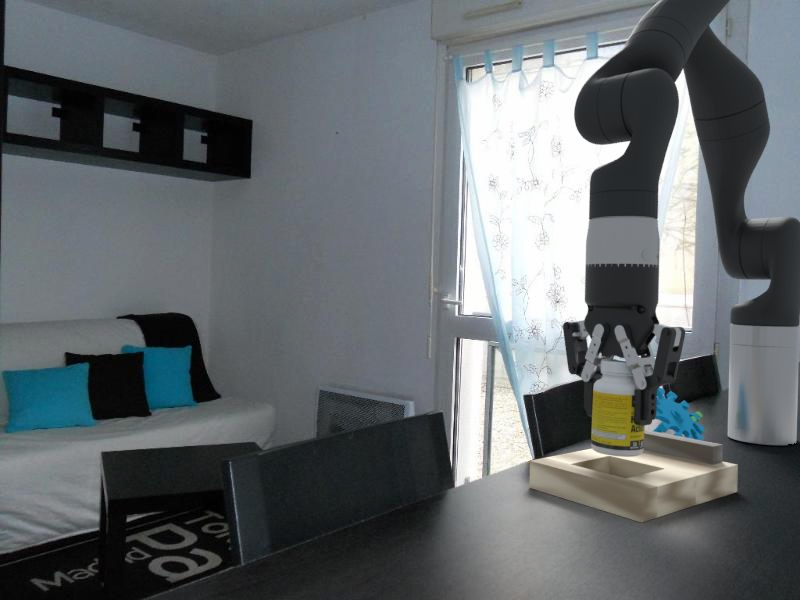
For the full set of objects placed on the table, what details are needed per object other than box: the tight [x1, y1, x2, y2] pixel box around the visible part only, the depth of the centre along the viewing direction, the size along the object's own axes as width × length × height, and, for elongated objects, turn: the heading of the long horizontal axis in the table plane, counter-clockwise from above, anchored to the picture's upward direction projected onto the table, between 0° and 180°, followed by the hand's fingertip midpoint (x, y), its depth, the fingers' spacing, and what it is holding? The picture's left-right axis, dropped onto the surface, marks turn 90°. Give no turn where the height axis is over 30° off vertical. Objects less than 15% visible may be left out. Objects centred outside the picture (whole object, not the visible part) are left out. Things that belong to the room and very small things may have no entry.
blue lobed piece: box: [652, 387, 706, 441], centre depth 105 cm, size 11×6×10 cm
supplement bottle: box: [590, 358, 646, 457], centre depth 75 cm, size 5×5×10 cm
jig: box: [528, 429, 739, 523], centre depth 77 cm, size 18×14×5 cm
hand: (618, 419), depth 75 cm, fingers closed on supplement bottle, 5 cm apart
